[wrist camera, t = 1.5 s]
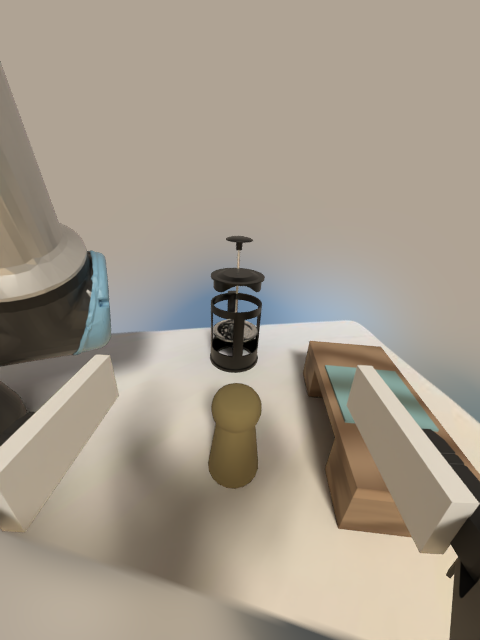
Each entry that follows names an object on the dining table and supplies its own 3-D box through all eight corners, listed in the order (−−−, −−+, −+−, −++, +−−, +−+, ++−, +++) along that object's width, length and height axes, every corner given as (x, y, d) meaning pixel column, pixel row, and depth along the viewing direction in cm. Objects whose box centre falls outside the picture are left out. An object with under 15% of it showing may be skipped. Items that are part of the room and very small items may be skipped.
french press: (262, 373, 45) (278, 244, 34) (210, 376, 44) (210, 242, 33) (251, 339, 55) (260, 231, 45) (209, 340, 54) (208, 230, 43)
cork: (217, 435, 33) (217, 370, 28) (261, 446, 32) (270, 380, 27) (200, 480, 28) (197, 410, 23) (253, 495, 27) (262, 425, 22)
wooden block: (463, 543, 24) (504, 502, 21) (338, 528, 25) (358, 485, 21) (368, 378, 45) (381, 345, 42) (302, 372, 46) (310, 339, 42)
